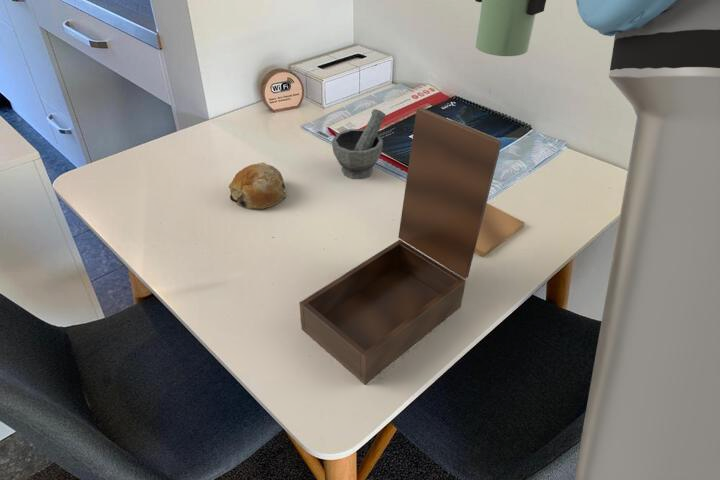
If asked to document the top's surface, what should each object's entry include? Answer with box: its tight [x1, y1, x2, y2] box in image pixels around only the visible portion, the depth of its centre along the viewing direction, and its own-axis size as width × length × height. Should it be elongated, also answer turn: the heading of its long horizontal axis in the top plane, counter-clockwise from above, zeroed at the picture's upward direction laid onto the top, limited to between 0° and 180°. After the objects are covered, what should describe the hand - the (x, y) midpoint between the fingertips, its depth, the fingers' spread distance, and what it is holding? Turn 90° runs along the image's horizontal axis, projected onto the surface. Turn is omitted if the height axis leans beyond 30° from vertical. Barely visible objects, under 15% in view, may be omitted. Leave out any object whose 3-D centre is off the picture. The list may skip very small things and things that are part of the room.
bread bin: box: [299, 239, 467, 385], centre depth 73 cm, size 20×13×5 cm, turn 134°
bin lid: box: [398, 106, 503, 280], centre depth 71 cm, size 20×13×5 cm
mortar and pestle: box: [331, 108, 387, 180], centre depth 102 cm, size 11×9×12 cm
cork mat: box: [474, 203, 525, 258], centre depth 91 cm, size 12×12×1 cm
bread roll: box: [228, 162, 288, 210], centre depth 96 cm, size 10×10×8 cm
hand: (508, 5), depth 67 cm, fingers closed on green pot, 7 cm apart
